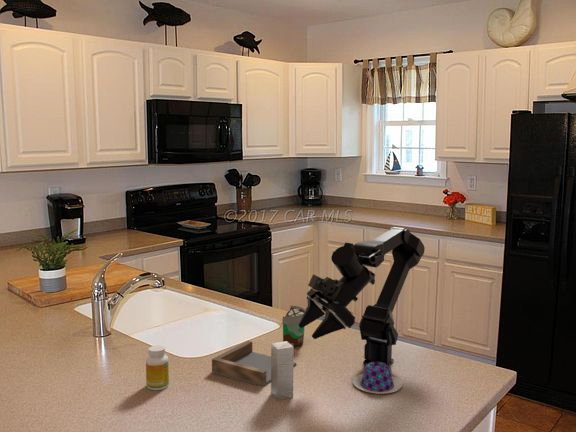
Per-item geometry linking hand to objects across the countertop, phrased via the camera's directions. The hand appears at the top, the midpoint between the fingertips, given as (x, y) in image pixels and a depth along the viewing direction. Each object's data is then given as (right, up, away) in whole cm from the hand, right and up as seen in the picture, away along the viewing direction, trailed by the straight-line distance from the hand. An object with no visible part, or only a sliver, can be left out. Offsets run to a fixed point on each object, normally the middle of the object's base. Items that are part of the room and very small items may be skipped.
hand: (306, 332), depth 138 cm
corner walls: (-13, -12, +12) cm, 22 cm away
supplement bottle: (-36, -14, +1) cm, 39 cm away
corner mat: (-13, -12, +12) cm, 22 cm away
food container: (-2, -10, +30) cm, 32 cm away
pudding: (+18, -14, +3) cm, 23 cm away
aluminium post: (-6, -14, -3) cm, 16 cm away
